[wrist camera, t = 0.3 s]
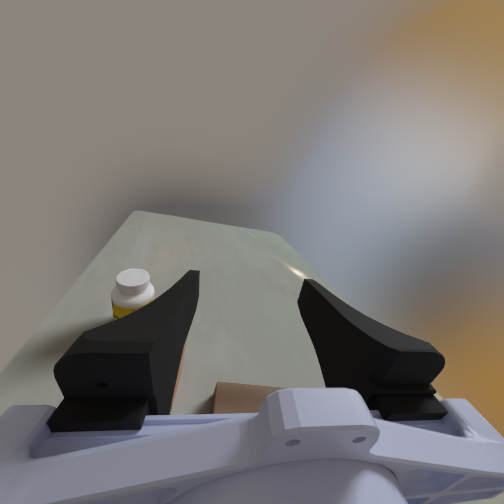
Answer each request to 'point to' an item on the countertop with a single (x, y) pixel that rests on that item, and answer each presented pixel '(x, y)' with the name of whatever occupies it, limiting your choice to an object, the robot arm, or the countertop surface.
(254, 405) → the walnut socket block
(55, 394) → the countertop surface
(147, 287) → the supplement bottle
